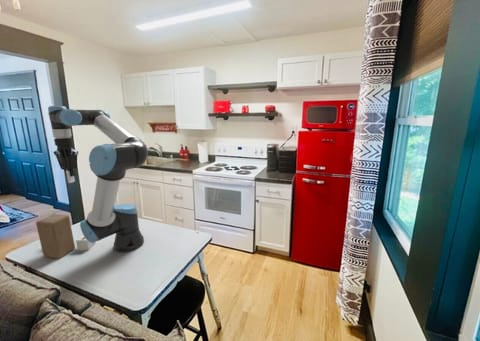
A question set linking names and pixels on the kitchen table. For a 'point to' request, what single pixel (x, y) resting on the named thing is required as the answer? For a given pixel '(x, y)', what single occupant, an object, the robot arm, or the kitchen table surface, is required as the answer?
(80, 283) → the kitchen table surface
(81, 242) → the grey marked cube
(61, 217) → the wooden block
